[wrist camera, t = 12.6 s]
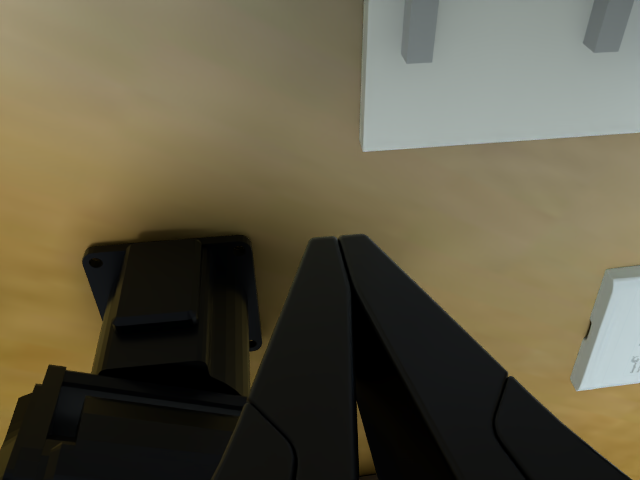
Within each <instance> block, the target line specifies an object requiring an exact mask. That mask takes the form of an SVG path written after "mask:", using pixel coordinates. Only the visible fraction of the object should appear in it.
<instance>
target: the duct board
mask: <svg viewBox="0 0 640 480" xmlns="http://www.w3.org/2000/svg"><path fill="white" fill-rule="evenodd" d="M626 133H640V0H364V12H363V42H362V72H361V102H360V132H359V141H360V144H361V148H362V151H363V152H368V151H383V150H397V149H411V148H425V147H440V146H454V145H468V144H483V143H497V142H511V141H525V140H540V139H554V138H568V137H583V136H597V135H611V134H626Z"/></svg>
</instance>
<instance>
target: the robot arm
mask: <svg viewBox="0 0 640 480" xmlns="http://www.w3.org/2000/svg"><path fill="white" fill-rule="evenodd" d="M237 246H241V247H243V249H240V250H237V249H235V247H237ZM92 258H98V259H100V260H101V261H95V260H93V259H92ZM82 263H83V267H84V270H85V272H86V275H87V278H88V281H89V284H90V287H91V289H92V292H93V295H94V298H95V301H96V304H97V307H98V309H99V312H100V315H101V318H102V321H103V323H102V327H101V332H100V336H99V341H98V345H97V349H96V354H95V358H94V363H93V367H92V372H91V374H90V373H83V372H76V371H69V370H66V367H63V366H56V365H49V366H48V369H47V372H46V375H45V378H44V381H43V384H36V385H35V387H34V390H33V393H30V394H28V395H25V396H22V397H20V398H19V399H18V402H17V405H16V408H15V411H14V414H13V417H12V420H11V423H10V426H9V429H8V432H7V435H6V437H5V440H4V443H3V445H2V447H1V450H0V480H359V455H358V429H357V404H358V408H359V411H360V415H361V419H362V422H363V426H364V430H365V433H366V437H367V440H368V444H369V448H370V451H371V455H372V459H373V462H374V466H375V470H376V473H377V477H378V480H632V479H631V478H629V477H628V476H627V475H626V474H624V473H623V472H622V471H621V470H619V469H618V468H617V467H616V466H614V465H613V464H612V463H611V462H609V461H608V460H607V459H605V458H604V457H603V456H602V455H600V454H599V453H598V452H597V451H596V450H594V449H593V448H592V447H591V446H590V445H588V444H587V443H586V442H585V441H584V440H582V439H581V438H580V437H579V436H577V435H576V434H575V433H574V432H573V431H571V430H570V429H569V428H568V427H567V426H565V425H564V424H563V423H562V422H561V421H560V420H559V419H557V418H556V417H555V416H554V415H553V414H552V413H551V412H550V411H549V410H548V409H547V408H545V407H544V406H543V405H542V404H541V403H540V402H539V401H538V400H537V399H536V398H535V397H533V396H532V395H531V394H530V393H529V392H528V391H527V390H526V389H525V388H524V387H523V386H522V385H521V384H520V383H519V382H518V381H517V380H516V379H515V378H514V377H512V376H509V377H508V372H507V371H506V370H505V369H504V368H503V367H502V366H501V365H500V364H499V363H498V362H497V361H496V360H495V359H494V358H493V357H492V356H491V355H490V354H489V353H488V352H487V351H486V350H484V349H483V348H482V347H481V346H480V345H479V344H478V343H477V342H476V341H475V340H474V339H473V338H472V337H471V336H470V335H469V334H468V333H467V332H466V331H465V330H464V329H463V328H462V327H461V326H460V325H459V324H458V323H457V322H456V321H455V320H453V319H452V318H451V317H450V316H449V315H448V314H447V313H446V312H445V311H444V310H443V309H442V308H441V307H440V306H439V305H438V304H437V303H436V302H435V301H434V300H433V299H432V298H431V297H430V296H429V295H428V294H427V293H426V292H425V291H424V290H422V289H421V288H420V287H419V286H418V285H417V284H416V283H415V282H414V281H413V280H412V279H411V278H410V277H409V276H408V275H407V274H406V273H405V272H404V271H403V270H402V269H401V268H400V267H399V266H398V265H397V264H396V263H395V262H394V261H393V260H391V259H390V258H389V257H388V256H387V255H386V254H385V253H384V252H383V251H382V250H381V249H380V248H379V247H378V246H377V245H376V244H375V243H374V242H373V241H372V240H371V239H370V238H369V237H368V236H366V235H364V234H353V235H342V236H340V237H339V238H338V239H337V238H336V237H334V236H328V237H316V238H312V239H310V240H309V242H308V244H307V247H306V249H305V252H304V255H303V257H302V260H301V262H300V265H299V267H298V270H297V272H296V275H295V277H294V280H293V283H292V285H291V288H290V290H289V293H288V295H287V298H286V300H285V303H284V305H283V308H282V311H281V313H280V316H279V318H278V321H277V323H276V326H275V328H274V331H273V334H272V336H271V339H270V341H269V344H268V346H267V349H266V351H265V354H264V356H263V359H262V362H261V364H260V367H259V369H258V372H257V374H256V377H255V379H254V382H253V384H252V387H251V390H250V360H249V352H250V351H255V350H258V349H259V348H260V347H261V346H262V335H261V325H260V316H259V307H258V298H257V289H256V280H255V271H254V261H253V252H252V244H251V241H250V239H248V238H247V237H245V236H243V235H231V236H219V237H206V238H194V239H181V240H169V241H156V242H144V243H131V244H119V245H106V246H94V247H90V248H88V249H87V250H86V251H85V253H84V256H83V260H82ZM249 340H253V341H249ZM356 400H357V403H356Z"/></svg>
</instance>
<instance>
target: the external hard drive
mask: <svg viewBox="0 0 640 480" xmlns="http://www.w3.org/2000/svg"><path fill="white" fill-rule="evenodd" d="M590 320H591V323H592V324H591V327H590V330H589V334H588V336H587V337H585V338H584V339H583V341H582V343H581V346H580V350H579V353H578V356H577V359H576V362H575V365H574V368H573V371H572V374H571V377H570V380H571V382H572V384H573V386H574V388H575V389H576V391H581V390H589V389H596V388H603V387H611V386H619V385H628V384H636V383H640V265H637V266H629V267H621V268H613V269H606V270H605V274H604V277H603V280H602V283H601V286H600V289H599V292H598V295H597V298H596V301H595V304H594V307H593V310H592V313H591V316H590Z"/></svg>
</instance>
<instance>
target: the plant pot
mask: <svg viewBox="0 0 640 480" xmlns="http://www.w3.org/2000/svg"><path fill="white" fill-rule="evenodd" d="M359 480H378V477H377V475H369V476H364V477H359Z"/></svg>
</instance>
